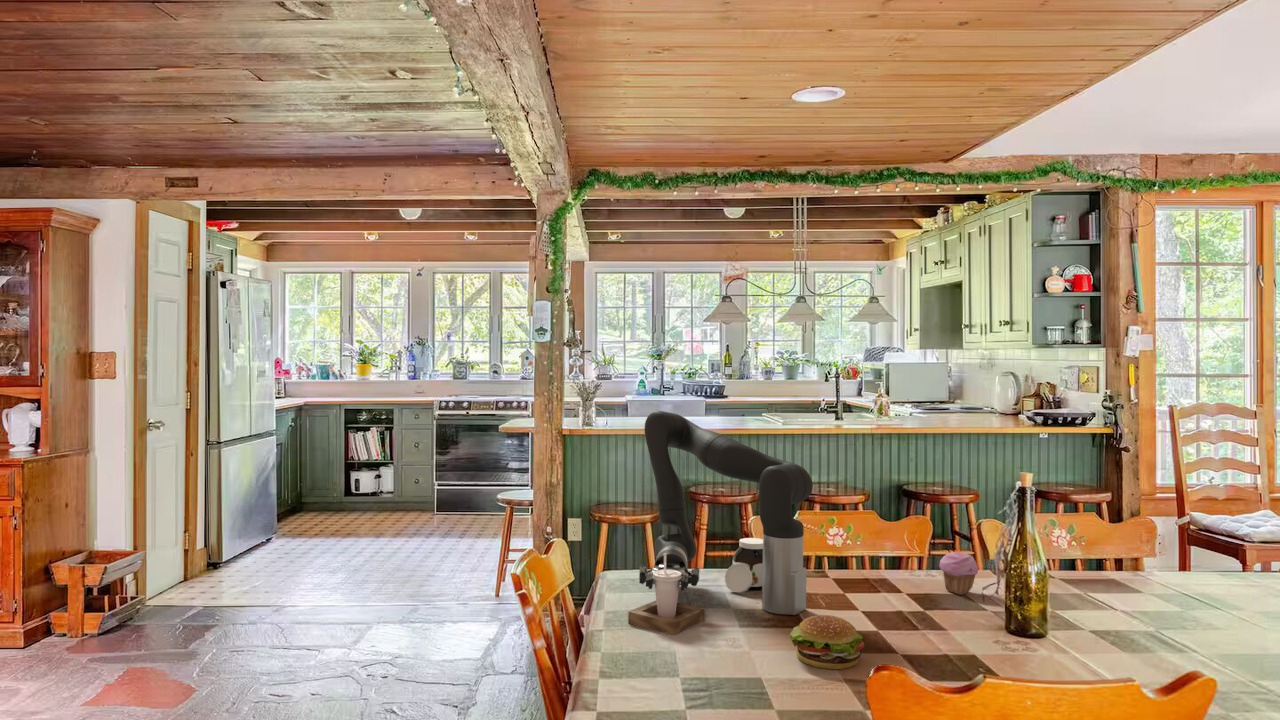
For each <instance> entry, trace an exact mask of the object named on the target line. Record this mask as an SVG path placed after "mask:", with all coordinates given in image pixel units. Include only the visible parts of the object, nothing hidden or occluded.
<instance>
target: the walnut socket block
mask: <svg viewBox="0 0 1280 720" xmlns="http://www.w3.org/2000/svg"><path fill="white" fill-rule="evenodd" d="M705 610H706V609H705V608H703V607H699V606H694V605H689V604H685V603H680V602H677V607H676V614H675V617H674V618H668V617H664V616H659V615H658V611H657V601H656V599H655V600H653V601H650V602H648V603H646V604H643V605H641V606H638V607H636V608H634V609H632V610H630V611H628V614H627V615H628V617H627V619H628V621H627V623H628V624H631V625H634V626H638V627H641V628H646V629H648V630H649V629H650V630H654V631H658V632H661V633H666V634H669V635H673V636H675V635H678V634H679V633H682V632H683V631H686V630H687V629H689V628H691V627H694V626H695V625H698V624H699V623H702V622H704V621H705V617H706V616H705V614H706V613H705Z"/></svg>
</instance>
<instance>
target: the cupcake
mask: <svg viewBox="0 0 1280 720" xmlns="http://www.w3.org/2000/svg"><path fill="white" fill-rule="evenodd" d="M978 567H979V566H978V564H977V561H976V560H975V558H974V557H973V556H971V555H970V554H968V553H964V552H958V551H957V552H948V553H946V554H945V555H943V556H942V558H941V559H940V560H939V569H940V570H941V572H943V580H944V581H943V582H944V587H945V590H947V591H948V592H949V593H950V592H951V593H954V594H956V595H959V596H960V595H961V596H962V595H965V594H968V593H969V592H970V590H971V589H972V588H973V586H974V582H975V578H976V575H978V573H979V568H978Z"/></svg>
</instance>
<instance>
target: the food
mask: <svg viewBox="0 0 1280 720" xmlns="http://www.w3.org/2000/svg"><path fill="white" fill-rule="evenodd" d="M789 639H790V640H791V643H792V644H793V646H794V647H795V648H796V647H797V648H796V651H795V654H796V657H797V659H799V660H800V661H801V662H803V663H804V664H807V665H809V666H811V667H815V668H820V669H828V670H842V669H849V668H852V667H854V666H855V665H857V664H858V662H859V659H860V658H861V656H862V650H863V648H865V643H864V641H863V639H864V636H863V635H861V634H860V633H859V632H857V629H856V628H855V626H854V625H853V624H852V623H851V622H849V621H847V620H846V619H845V618H842V617H839V616H835V615H826V614H819V615H818V614H815V615H812V616H809V617H806V618H804V620H802V621H800V623H799V624H797V626H794V627H793V628H792V630H791V632H790V634H789Z"/></svg>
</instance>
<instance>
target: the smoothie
mask: <svg viewBox="0 0 1280 720" xmlns="http://www.w3.org/2000/svg"><path fill="white" fill-rule="evenodd" d="M681 578H682V577H681V572H679V571H676V570H670V569H666V553H664V569H662V570H657V571H654V572H653V579H654V583H655V584H654V589H655V590H654V591H655V600H656V601H657V611H658V615H659V616H664V617H668V618H674V617H675V614H676V607H677V603H678V598H679V591H680V585H679V584H680V579H681Z"/></svg>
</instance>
